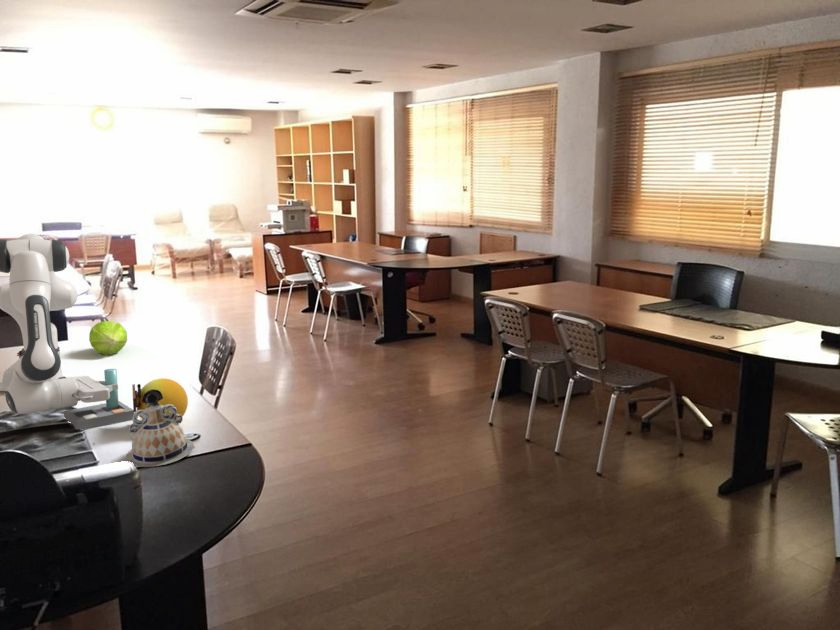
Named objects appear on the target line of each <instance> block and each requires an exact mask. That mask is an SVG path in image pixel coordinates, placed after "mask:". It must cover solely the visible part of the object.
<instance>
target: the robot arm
mask: <svg viewBox="0 0 840 630" xmlns="http://www.w3.org/2000/svg"><path fill="white" fill-rule="evenodd" d="M69 262H70V252H69V249H68V247H67V245H66V243H64V242H63V241H61V240H57V239H52V240H50V239H45V238H43V237H42V236H41V235H39V234H35V233H28V234H23V235H22V236H20V237H19V238H18V239H11V240H10V239H9V240H7V239H2V240H0V273H4V274H9V281H8V282H9V283H4V284H1V285H0V310H2V311H3V312H5V313H6V314H8V315H10V317H12V318H13V319H14V320H15V321H16V322H17V324H18V326H19V328H20V332H21V335H22V336H21V337H22V344H23V345H22V346H23V348H22V349H21V350H19V351H18V352H17V353H16V357H18V360H16V362H13V364H11V365H10V366H9V367H8V368H6V369H5V370H4V371H3V374H2V378H1V379H2V380H1V382H0V392H5V394H4V396H5V402H6V404H7V407H8V408H9V410H11V411H12V412H13V413H14V414H17V415H29V414H36V413H42V412H45V411H48V410H52V409H56V410H58V409H64V408H71V407H76V406H77V405H78V402H80V401H81V402H82V403H84V404H85V403H87V404H88V403H97V402H103V401H104V402H106V400H108V399H110V392H111V391H113V390H117V389H118V390H119V385H118V383H117V384H110V385H108V386H106V385H105V380H95V379H93V378H92V377H90V376H88V375H79V376H78V375H77V376H70V377H69V376H68V377H66V376H64V375H63V371H62V367H61V366H62V362H61V350H60V347H59V344H58V343H59V342H58V329H57V326H56V325H55V324H54V323H53V322H51V315H50V314H51V313H50V312H52V311H62V310H66V309H70V308H72V307H74V305H75V304H76V303H77V300H78V292H77V289H76V287H75V286H74V285H73V283H71V282H69V281H67V280H64V279H61V278H60V277H58V276H57V275H56V274H55V273H56V272H58V273H59V272H62V271H65V269H67V268H68V267H67V265H69Z"/></svg>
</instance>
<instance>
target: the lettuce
mask: <svg viewBox="0 0 840 630" xmlns="http://www.w3.org/2000/svg"><path fill="white" fill-rule="evenodd" d="M88 337H89V338H88V339H89V344H90V346H91V347H92V348H93V349H94V350H95V351H96V352H97V353H99V354H101V355H103V356H107V355H108V356H109V355H114V354H117V353H119V352H120V351H122V349H123V348H124V347H125V345H126V344H127V342H128V332H127V331H126V329H125V327H124V326H123V325H122V324H121V323H120V322H115V321H112V320H111V321H109V320H103V321H100V322H97V323H96V324H94V325H93V326H92V327H91V328H90V332H89V336H88Z"/></svg>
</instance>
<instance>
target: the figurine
mask: <svg viewBox="0 0 840 630" xmlns="http://www.w3.org/2000/svg"><path fill="white" fill-rule="evenodd" d="M162 399H163V397H162V394H161V392H160V391H159V390H154V389H152V390H150V391H147V392H146V393H145V394H144V395H143V399H142V402H143V403H147V404H149V405H148V406H147V407H146V409H145V410H138V411H137V409H138V407H137V408H136V412H134V414H133V418H132V420H131V422H132V423H131V424H130V425H129V427H128V432H129V434H134V435H133V437H132V440H131V448H130V450H129V451H127V453H126V454H125V456H124V460H125V462H127V461H130V462H133V463H134V464H135V465H134V466H136V467H139V468H150V467H151V468H152V467H159V466H163V465H164V466H165V465H168V464H171V463H174V462H177V461H179V460H181V459H183V458H184V457H187V456H188V455H190V454H191V453H192V452H193V450H194V448H195V444H194V442H193V441H192V440H190V439H188V438H187V437H186V436H187V435H186V434H185V431H184V429H183V427H182V426H181V425H180V424H181V423H182V422H183V417H184V416H183V417H182V416H181V415H180V414H177V409H176V407H175V406H174V405H172V404H167V405H165V406H162V405H160V404H158V401H160V400H162ZM147 404H145V405H147ZM168 409H169V410H171V411H168V413H170V414H166V411H167V410H168ZM139 415H140V416H143V418H144V419H142V418H141V417H139ZM138 418H140V419H138Z"/></svg>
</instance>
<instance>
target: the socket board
mask: <svg viewBox="0 0 840 630" xmlns="http://www.w3.org/2000/svg"><path fill="white" fill-rule="evenodd" d="M118 403H119V406H118V407H115V408H107V407H106V402H104V403H100V404H96V405H88V406H83V407H79V408H72V409H69V410H68V409H67V410H63V418H64V417H65V418H66V419H67V420H68V421H69V422H71V423H72V424H73V425H74V426H75V427H76V428H77V429H83V430H82V431H84V430H89V429H94V428H99V427H104V426H110V425H113V424H118V423H123V422H128V421H132V418H133V414H134V413H135V412H134V410H133V409H132V407H130V406H128V405H126V404H125V403H123V402H122V401H120V400H118Z"/></svg>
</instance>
